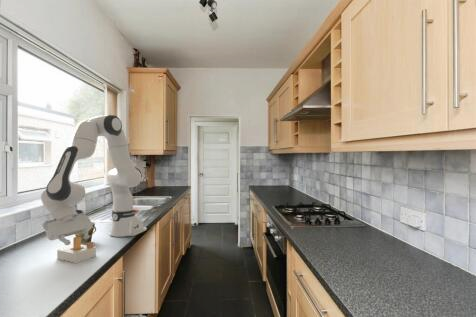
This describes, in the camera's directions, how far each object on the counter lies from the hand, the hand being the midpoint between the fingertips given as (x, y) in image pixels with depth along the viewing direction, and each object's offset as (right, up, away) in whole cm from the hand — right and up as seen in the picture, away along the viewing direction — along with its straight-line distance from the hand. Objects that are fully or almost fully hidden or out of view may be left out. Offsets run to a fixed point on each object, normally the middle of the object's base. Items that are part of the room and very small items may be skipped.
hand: (78, 241), depth 126 cm
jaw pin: (-1, -7, 0) cm, 7 cm away
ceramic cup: (-8, -7, +20) cm, 23 cm away
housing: (-1, -7, 0) cm, 7 cm away
